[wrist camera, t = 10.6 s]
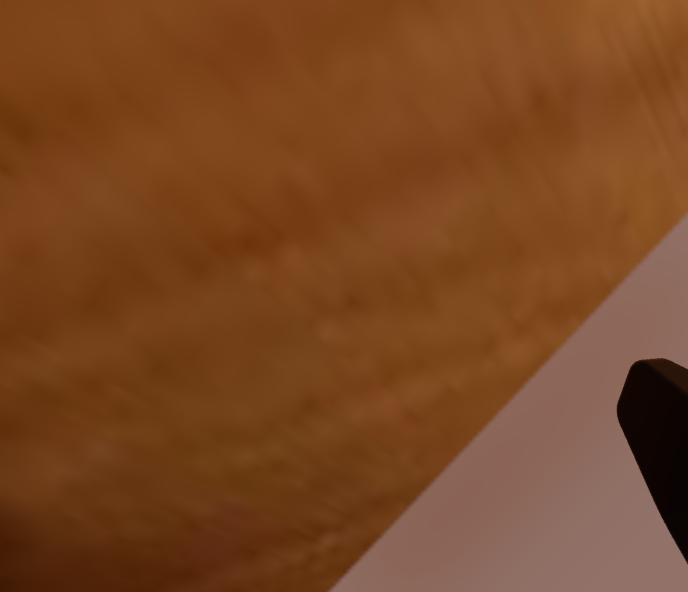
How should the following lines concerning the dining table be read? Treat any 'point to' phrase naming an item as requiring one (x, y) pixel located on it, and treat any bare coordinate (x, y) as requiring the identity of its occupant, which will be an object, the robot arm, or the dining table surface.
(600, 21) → the dining table surface
